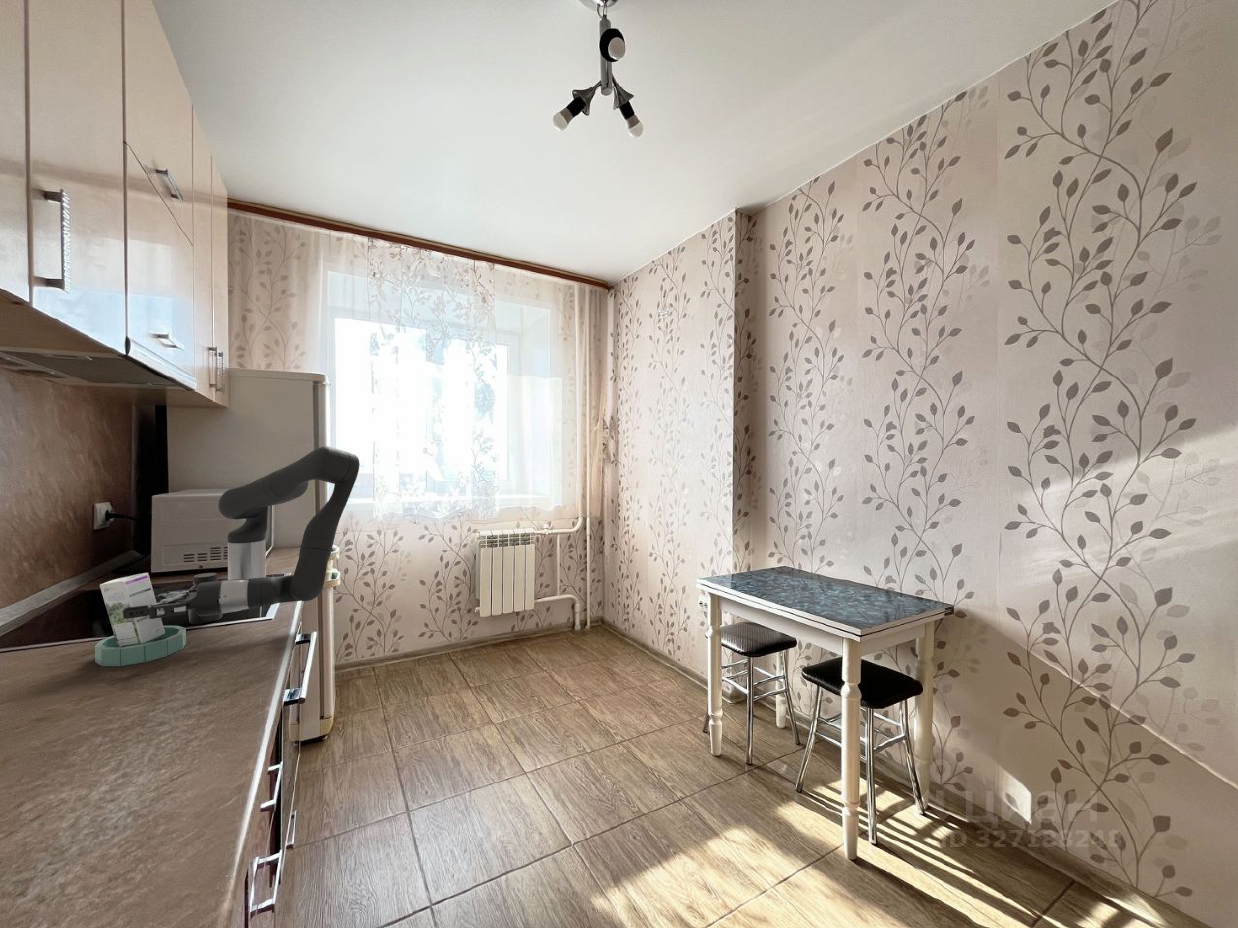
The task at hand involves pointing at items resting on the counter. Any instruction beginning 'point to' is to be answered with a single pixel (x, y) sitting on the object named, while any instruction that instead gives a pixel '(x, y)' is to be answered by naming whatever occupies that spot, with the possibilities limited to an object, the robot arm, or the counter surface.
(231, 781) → the counter surface
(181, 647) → the bowl
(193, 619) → the supplement bottle
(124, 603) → the syrup box
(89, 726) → the counter surface
